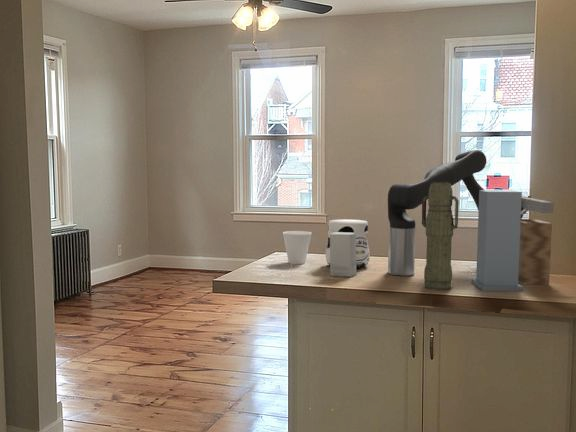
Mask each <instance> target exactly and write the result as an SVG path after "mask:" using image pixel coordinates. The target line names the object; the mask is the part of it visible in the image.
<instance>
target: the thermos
mask: <svg viewBox="0 0 576 432" xmlns="http://www.w3.org/2000/svg"><path fill="white" fill-rule="evenodd" d="M453 200H454V202H455V204H454V205H455V206H454V207H455V208H454V216H453V210H452V207H453ZM427 201H428V204H427ZM459 201H460V200H459V199H458V198H457V196H455V195H453V187H452V186H451V184H450V183H448V182H434V183H431V185H430V188H429V195H428V196H425V197H424V198H423V199H422V204H421V225H422V227H424V228H425V236H426V257H425V258H426V261H425V262H426V263H425V264H426V265H425V266H424V271H423V273H424V276H423V277H424V279H423V280H424V288H425V289H428V290H433V291H446V290H451V289H452V281H453V268H452V264H451V263H452V240H453V239H452V238H453V236H454V230H455V229H458V227H459V226H458V225H459V224H458V223H459V206H460V205H459ZM427 205H428V209H427Z"/></svg>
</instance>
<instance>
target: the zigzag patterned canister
mask: <svg viewBox="0 0 576 432" xmlns="http://www.w3.org/2000/svg"><path fill="white" fill-rule="evenodd" d="M552 227H553V223H552V222H548V221H545V220H541V219H537V218H536V219H535V218H531V219H530V218H522V219H521V224H520V248H519V272H518V283H520V284H522V285H550V272H551V271H550V268H551V255H552V254H551V253H552V250H551V249H552V231H553V229H552Z"/></svg>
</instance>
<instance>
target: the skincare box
mask: <svg viewBox="0 0 576 432" xmlns="http://www.w3.org/2000/svg"><path fill="white" fill-rule="evenodd" d="M329 266H330V267H329V268H330V269H329V270H330V276H332V277H347V278H351V277H354V276H355V275H357V268H356V233H349V232H334V233H332V234H330V265H329Z"/></svg>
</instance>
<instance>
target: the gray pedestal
mask: <svg viewBox="0 0 576 432" xmlns="http://www.w3.org/2000/svg"><path fill="white" fill-rule="evenodd" d="M522 193H523V192H522V191H518V190H495V189H494V190H490V189H489V190H486V189H484V190H479V211H477V212H478V213H477V214H478V217H477V220H478V221H477V244H476V245H477V247H476V270H475V271H476V272H475V273H476V274H475V278H473V277H471V284H473V285H474V286H475V287H476V288H478V289H479V290H480V291H482V292H524V286H523V285H521V284H519V282H518V272H519V248H520V224H521V200H522V196H523V194H522Z"/></svg>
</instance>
